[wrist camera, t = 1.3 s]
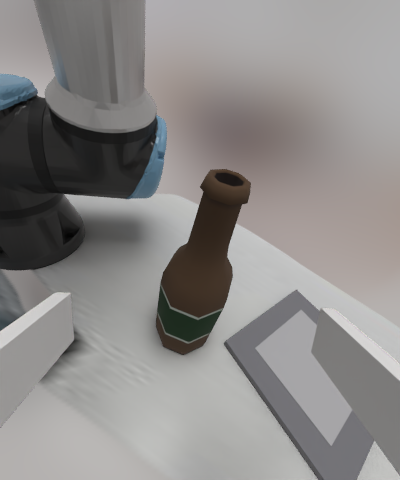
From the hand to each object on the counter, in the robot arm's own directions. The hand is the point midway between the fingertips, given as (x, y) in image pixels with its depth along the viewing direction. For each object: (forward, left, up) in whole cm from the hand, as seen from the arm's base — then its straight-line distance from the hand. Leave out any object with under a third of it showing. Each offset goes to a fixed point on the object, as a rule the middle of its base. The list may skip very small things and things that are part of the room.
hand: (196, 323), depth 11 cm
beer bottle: (-6, +6, -20) cm, 22 cm away
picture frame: (+8, +19, -20) cm, 29 cm away
